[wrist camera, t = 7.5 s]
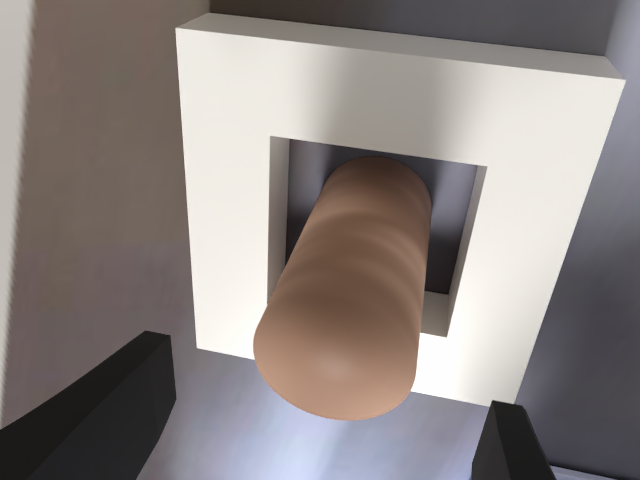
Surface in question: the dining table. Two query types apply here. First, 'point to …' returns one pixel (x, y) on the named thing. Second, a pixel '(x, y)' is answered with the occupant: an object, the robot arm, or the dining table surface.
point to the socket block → (401, 138)
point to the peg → (351, 295)
